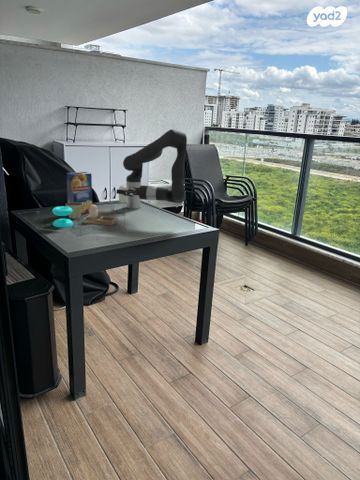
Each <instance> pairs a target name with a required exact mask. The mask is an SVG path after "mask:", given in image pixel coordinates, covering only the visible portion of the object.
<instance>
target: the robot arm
mask: <svg viewBox="0 0 360 480" xmlns="http://www.w3.org/2000/svg"><path fill="white" fill-rule="evenodd" d="M187 140H188V137H187V135H186V133H185V132H183V131H180V130H177V129H171V128H170V129H169V130H167V131H166V132H165V133H163V134H161V136H160V137H158V138H157V139H155V140H153V141H152V142H150V143H149V144H147V145H146V146H144V147H142V148H140V149H139V150H138V151H136V152H134V153H131V154H129V155H127V156H126V157H125V158H124V159H123V162H122V166H123V168H124V169H125V170H127V171H129V172H130V171H131V173H130V174H128V175H127V176H126V180H125V181H126V184H125V186H127V189H128V190H119V188H117V189H116V194H118V195H119V194H123V195H124V196H128V202H126V208H127V209H132V210H137V209H141V208H142V207H141V206H142V205H141V204H142V203H141V202H142V201H141V200H144V201H145V200H146V201H162V202H163V201H165V202H170V203H176V204H182V203H183V202H185V201H186V199H187V198H186V197H187V194H186V193H185V180H186V179H185V178H186V177H185V175H186V174H185V162H186V153H187V146H188V145H187V144H188V141H187ZM168 147H170V148H174V149H176V158H175V159H174V162H173V164H172V166H171V170H170V172H171V174H170V175H171V188H170V189H169V188H166V187H162V186H161V187H160V186H154V185H153V186H152V185H142V177H143V169H144V168H143V166H144V164H145V163H150V162H153V161H155V160H156V159H158V158H161V155H162V154H163V151H164V149H166V148H168ZM126 192H127V193H126Z"/></svg>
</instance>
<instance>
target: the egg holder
mask: <svg viewBox="0 0 360 480" xmlns="http://www.w3.org/2000/svg"><path fill="white" fill-rule="evenodd" d="M117 222H118V217H116V216H107V215H106V216H103V215H98V219H97V220H95V219H89V214H88V215H87V216H85V217H83V218H82V224H83V223H85V224H95V225H102V226H103V225H104V226H105V225H106V226H113V225H115V224H116V223H117Z"/></svg>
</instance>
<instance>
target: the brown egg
mask: <svg viewBox="0 0 360 480" xmlns="http://www.w3.org/2000/svg"><path fill="white" fill-rule="evenodd" d="M88 215H89V219H95V220H97V219H98V216H99V210H98V206H97V205H96V204H94V203H92V205H90V206H89V212H88Z"/></svg>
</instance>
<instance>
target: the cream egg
mask: <svg viewBox="0 0 360 480" xmlns="http://www.w3.org/2000/svg"><path fill="white" fill-rule="evenodd" d="M118 189H119V190H128V189H127V186H126V184H121V185H120V186H119V187H118ZM126 193H127V192H126ZM118 202H119V203H121V204H125V203H126V202H128V196H124V195H123V194H118Z"/></svg>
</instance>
